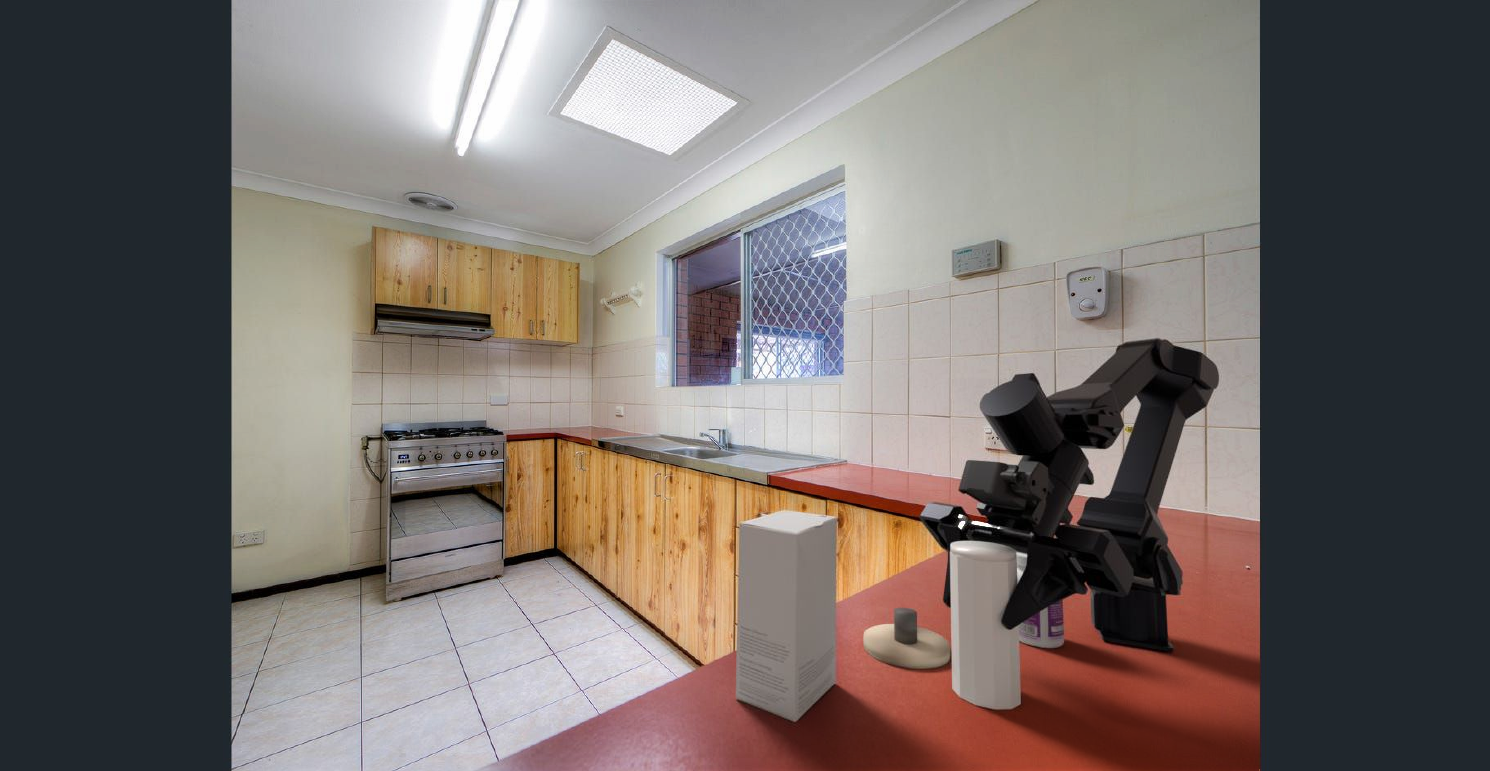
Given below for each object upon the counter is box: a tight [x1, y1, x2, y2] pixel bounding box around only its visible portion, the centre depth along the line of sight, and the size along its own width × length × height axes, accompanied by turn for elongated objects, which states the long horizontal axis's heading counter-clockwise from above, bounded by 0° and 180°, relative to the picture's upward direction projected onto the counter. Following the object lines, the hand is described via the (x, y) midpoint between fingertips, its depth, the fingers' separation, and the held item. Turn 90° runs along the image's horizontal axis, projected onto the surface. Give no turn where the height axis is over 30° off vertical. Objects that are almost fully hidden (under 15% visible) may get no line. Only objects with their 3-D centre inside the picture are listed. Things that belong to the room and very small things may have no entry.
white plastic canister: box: [950, 541, 1022, 710], centre depth 47 cm, size 6×6×13 cm
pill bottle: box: [1016, 552, 1065, 649], centre depth 59 cm, size 5×5×10 cm
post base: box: [863, 607, 951, 670], centre depth 56 cm, size 9×9×4 cm
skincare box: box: [735, 509, 838, 723], centre depth 47 cm, size 8×7×16 cm
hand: (974, 614), depth 47 cm, fingers closed on white plastic canister, 6 cm apart
